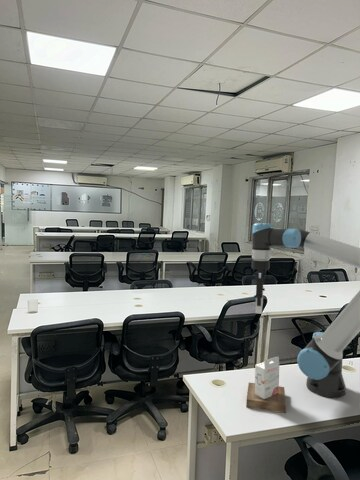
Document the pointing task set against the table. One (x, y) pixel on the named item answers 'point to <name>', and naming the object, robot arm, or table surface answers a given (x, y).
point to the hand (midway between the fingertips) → (259, 309)
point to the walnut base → (266, 400)
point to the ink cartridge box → (267, 378)
